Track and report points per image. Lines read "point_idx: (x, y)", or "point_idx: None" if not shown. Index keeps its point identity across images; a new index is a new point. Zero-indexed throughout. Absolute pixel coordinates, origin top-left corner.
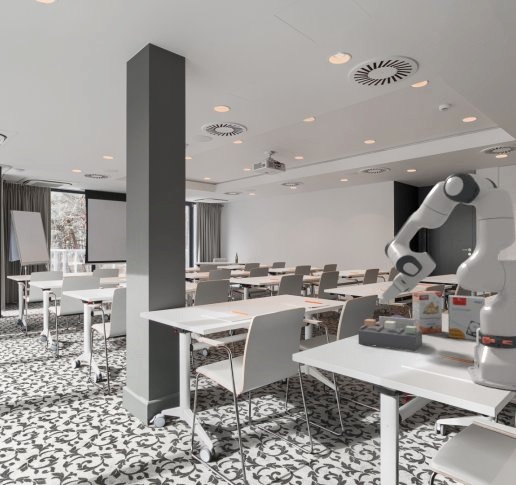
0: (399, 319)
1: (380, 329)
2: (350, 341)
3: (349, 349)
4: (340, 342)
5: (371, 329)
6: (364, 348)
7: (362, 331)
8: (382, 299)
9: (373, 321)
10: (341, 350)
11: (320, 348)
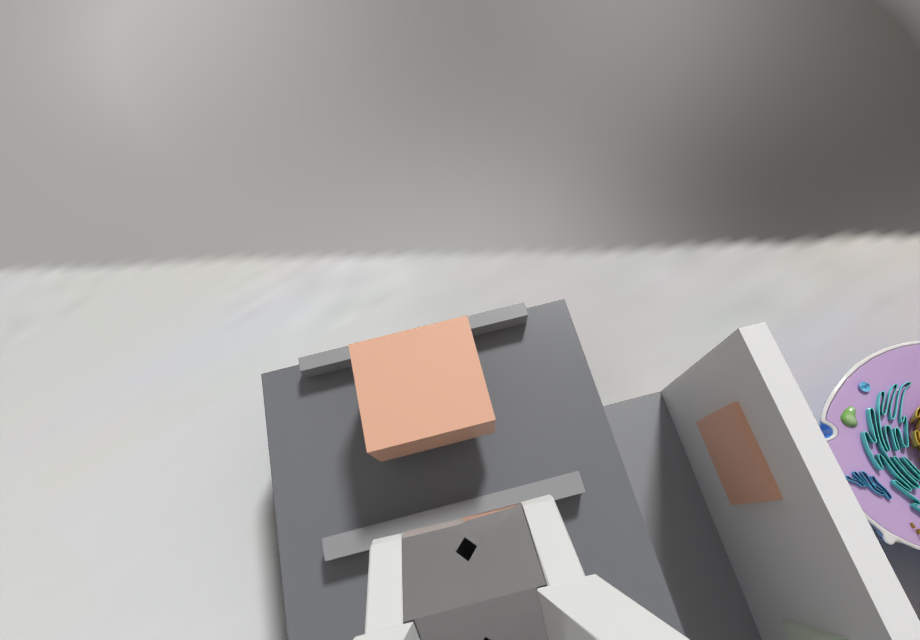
0: (873, 625)
1: None
2: (338, 318)
3: (97, 452)
4: (261, 286)
5: None
6: (192, 524)
7: (266, 415)
8: (368, 612)
9: (387, 448)
10: (38, 426)
11: (22, 293)
